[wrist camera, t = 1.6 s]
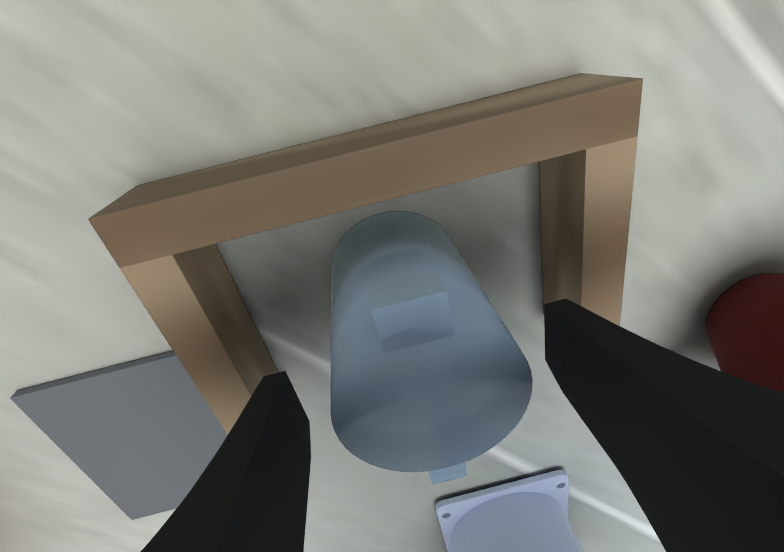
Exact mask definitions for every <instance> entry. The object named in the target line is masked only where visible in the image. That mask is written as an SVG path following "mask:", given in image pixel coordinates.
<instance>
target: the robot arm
mask: <svg viewBox="0 0 784 552" xmlns="http://www.w3.org/2000/svg"><path fill="white" fill-rule="evenodd" d="M544 324H545V360H546V362H547V364H548V366H549V368H550V370H551V372H552V373H553V375H554V377H555V379H556V381H557V383H558V384H559V386H560V388H561V390H562V392H563V393H564V395H565V396H566V397H567V399H568V400H569V402H570V403H571V405H572V406H573V407H574V409H575V410H576V412H577V413H578V414H579V416H580V417H581V419H582V420H583V421H584V423H585V424H586V426H587V427H588V428H589V430H590V431H591V432H592V434H593V435H594V437H595V438H596V439H597V441H598V442H599V444H600V445H601V446H602V448H603V449H604V451H605V452H606V453H607V455H608V456H609V457H610V459H611V460H612V462H613V463H614V464H615V466H616V467H617V469H618V470H619V472H620V474H621V475H622V477H623V478H624V480H625V481H626V483H627V484H628V486H629V488H630V489H631V491H632V493H633V495H634V496H635V498H636V500H637V501H638V503H639V505H640V506H641V508H642V510H643V512H644V513H645V515H646V517H647V518H648V520H649V522H650V524H651V525H652V527H653V529H654V531H655V532H656V534H657V536H658V538H659V540H660V541H661V543H662V545H663V547H664V548H665V550H666V552H784V393H782V392H779V391H776V390H772V389H769V388H766V387H763V386H760V385H757V384H754V383H751V382H749V381H746V380H743V379H740V378H738V377H735V376H732V375H729V374H727V373H724V372H721V371H719V370H716V369H713V368H711V367H708V366H706V365H703V364H701V363H698V362H696V361H693V360H691V359H689V358H686V357H684V356H682V355H680V354H677V353H675V352H673V351H670V350H668V349H666V348H664V347H661V346H659V345H657V344H655V343H653V342H651V341H649V340H646V339H644V338H642V337H640V336H638V335H636V334H634V333H632V332H630V331H628V330H626V329H624V328H622V327H620V326H618V325H616V324H614V323H612V322H611V321H609V320H607V319H605V318H603V317H601V316H599V315H597V314H595V313H593V312H591V311H590V310H588V309H586V308H584V307H582V306H580V305H578V304H576V303H574V302H572V301H570V300H568V299H566V298H565V299H562V300H558V301H554V302H550V303H546V304H544ZM310 462H311V447H310V425H309V419H308V417H307V415H306V413H305V411H304V409H303V407H302V405H301V403H300V401H299V399H298V396H297V394H296V392H295V390H294V388H293V386H292V384H291V382H290V380H289V378H288V376H287V374H286V371H283V372H279V373H275V374H271V375H267V376H263V378H262V379H261V381H260V383H259V384H258V386H257V387H256V389H255V391H254V392H253V394H252V396H251V397H250V399H249V401H248V402H247V404H246V406H245V407H244V409H243V411H242V412H241V414H240V416H239V417H238V419H237V421H236V422H235V424H234V426H233V427H232V429H231V430H230V432H229V434H228V435H227V437H226V438H225V440H224V442H223V443H222V445H221V446H220V448H219V449H218V451H217V453H216V454H215V455H214V457H213V458H212V460H211V461H210V463H209V464H208V466H207V467H206V469H205V470H204V472H203V473H202V475H201V476H200V477H199V479H198V480H197V482H196V483H195V485H194V486H193V487H192V489H191V490H190V491H189V493H188V494H187V496H186V497H185V498H184V499H183V501H182V502H181V503H180V505H179V506H178V507H177V509H176V510H175V511H174V512H173V514H172V515H171V516H170V517H169V519H168V520H167V521H166V522H165V524H164V525H163V526H162V527H161V529H160V530H159V531H158V532H157V534H156V535H155V536H154V537H153V538H152V539H151V541H150V542H149V543H148V544H147V545H146V546H145V547H144V549H143V550H142V551H141V552H303V550H304V536H305V524H306V512H307V500H308V489H309V476H310ZM568 504H569V477H568V475H567V473H566V471H564V470H556V471H552V472H548V473H544V474H540V475H537V476H533V477H529V478H525V479H521V480H518V481H514V482H510V483H506V484H502V485H498V486H495V487H491V488H487V489H483V490H479V491H475V492H472V493H468V494H464V495H460V496H456V497H452V498H449V499H445V500H441V501H439V502H438V503H437V504H436V505H435V508H436V513H437V516H438V520H439V523H440V527H441V530H442V534H443V537H444V541H445V544H446V548H447V551H448V552H584V550H583V548H582V546H581V544H580V542H579V540H578V538H577V536H576V534H575V532H574V531H573V529H572V527H571V525H570V523H569V521H568Z"/></svg>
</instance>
